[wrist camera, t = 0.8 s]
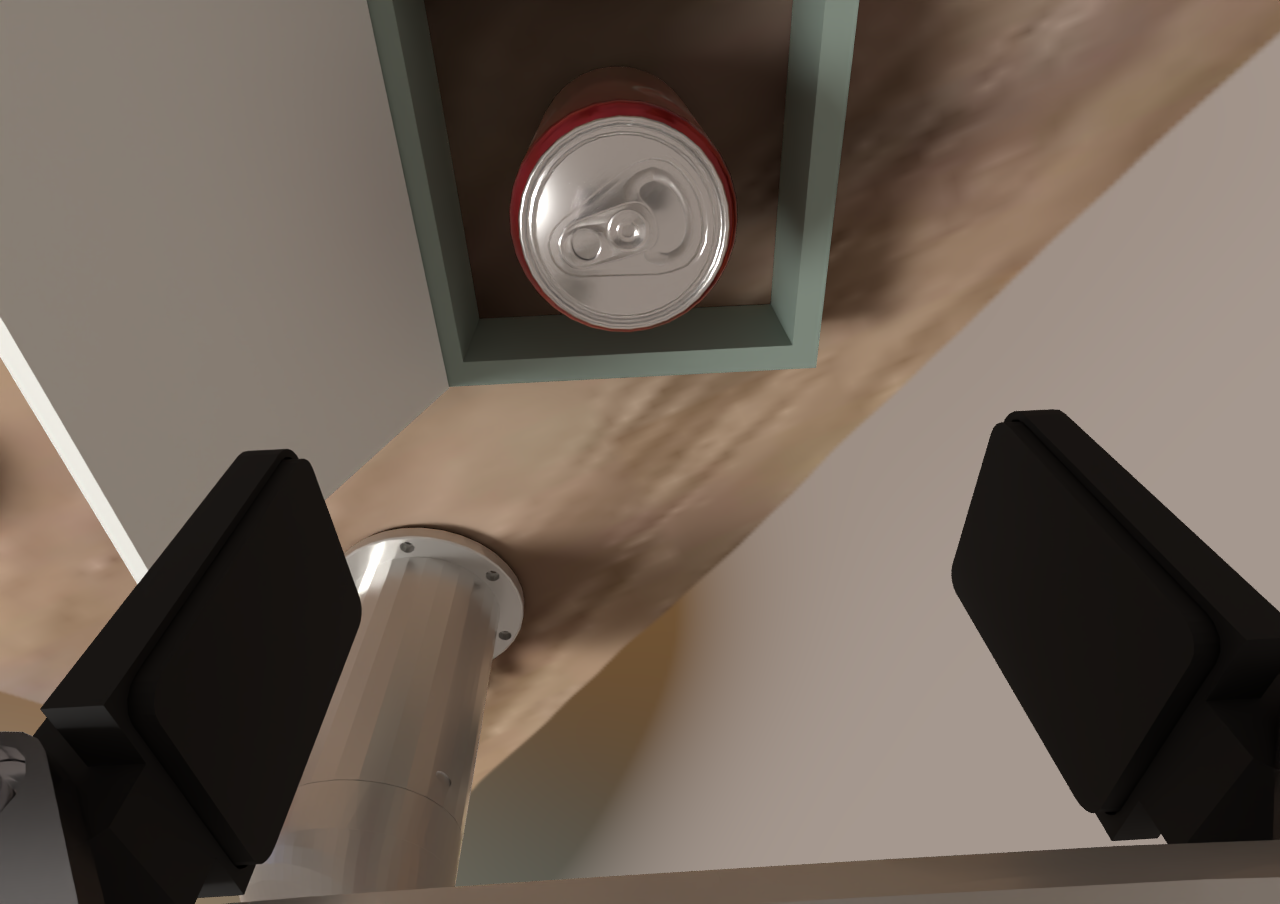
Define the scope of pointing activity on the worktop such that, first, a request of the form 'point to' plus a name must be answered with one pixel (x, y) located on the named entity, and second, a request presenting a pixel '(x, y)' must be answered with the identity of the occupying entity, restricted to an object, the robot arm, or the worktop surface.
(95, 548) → the worktop surface
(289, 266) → the open hinged box
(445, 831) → the robot arm
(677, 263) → the soda can
